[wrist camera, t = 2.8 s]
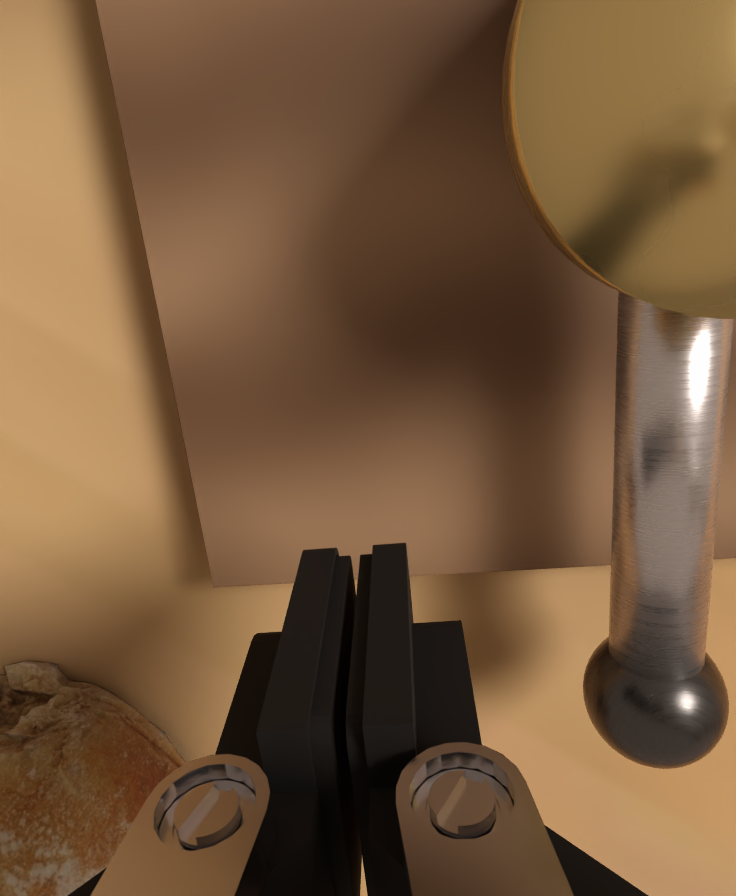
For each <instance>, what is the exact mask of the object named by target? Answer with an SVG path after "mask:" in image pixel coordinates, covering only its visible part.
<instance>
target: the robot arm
mask: <svg viewBox="0 0 736 896" xmlns="http://www.w3.org/2000/svg"><path fill="white" fill-rule="evenodd" d="M362 858H363V865H364V872H365V879H366V886H367V893H368V896H648V895H646V894H645V893H643V892H642V891H641V890H639V889H638V888H636V887H635V886H633V885H632V884H630V883H629V882H627V881H626V880H624V879H623V878H621V877H620V876H619V875H617V874H616V873H614V872H613V871H611V870H610V869H608V868H607V867H605V866H604V865H602V864H601V863H599V862H598V861H597V860H595V859H594V858H592V857H591V856H589V855H588V854H586V853H585V852H583V851H582V850H580V849H579V848H577V847H576V846H574V845H573V844H572V843H570V842H569V841H567V840H566V839H564V838H563V837H561V836H560V835H558V834H557V833H555V832H554V831H552V830H551V829H550V828H548V827H547V826H545V825H544V823H543V821H542V819H541V816H540V814H539V812H538V809H537V807H536V804H535V802H534V800H533V797H532V795H531V793H530V790H529V788H528V785H527V783H526V781H525V779H524V778H523V776H522V775H521V773H520V771H519V770H518V768H517V767H516V765H514V764H513V763H512V762H511V761H510V760H508V759H507V758H506V757H505V756H504V755H503V754H501V753H499V752H497V751H495V750H492V749H490V748H488V747H486V746H483V745H482V743H481V737H480V731H479V725H478V719H477V713H476V707H475V701H474V695H473V689H472V683H471V677H470V671H469V664H468V658H467V652H466V646H465V640H464V634H463V628H462V623H461V620H460V621H444V622H428V623H413V613H412V601H411V590H410V579H409V567H408V556H407V546H406V543H394V544H380V545H373V548H372V554H363V555H360V562H359V573H358V584H357V595H356V592H355V583H354V575H353V567H352V560H351V556H350V555H349V556H339V552H338V549H337V548H323V549H309V550H303V552H302V555H301V559H300V563H299V566H298V570H297V574H296V578H295V582H294V586H293V590H292V594H291V598H290V602H289V606H288V609H287V613H286V617H285V621H284V625H283V629H282V632H269V633H257V634H256V635H254V637H253V639H252V641H251V644H250V647H249V651H248V654H247V657H246V660H245V663H244V666H243V669H242V673H241V676H240V679H239V682H238V685H237V688H236V691H235V694H234V698H233V701H232V704H231V707H230V710H229V713H228V716H227V719H226V723H225V726H224V729H223V732H222V735H221V738H220V741H219V745H218V748H217V751H216V754H215V755H210V756H206V757H203V758H199V759H196V760H193V761H191V762H189V763H187V764H185V765H183V766H181V767H179V768H177V769H176V770H174V771H173V772H172V773H170V774H169V775H168V776H167V777H166V778H164V779H163V780H162V781H161V782H160V783H158V785H157V786H156V787H155V789H154V790H153V791H152V793H151V794H150V795H149V796H148V798H147V799H146V801H145V803H144V804H143V806H142V808H141V809H140V811H139V813H138V815H137V816H136V818H135V820H134V822H133V823H132V825H131V827H130V828H129V830H128V832H127V834H126V835H125V837H124V839H123V840H122V842H121V844H120V846H119V847H118V849H117V851H116V853H115V854H114V856H113V858H112V859H111V861H110V863H109V865H108V866H107V868H105V869H104V870H102V871H101V872H100V873H98V874H97V875H95V876H94V877H93V878H91V879H90V880H88V881H87V882H86V883H84V884H83V885H81V886H80V887H79V888H77V889H76V890H74V891H73V892H72V893H70V894H69V895H67V896H360V884H361V863H362Z"/></svg>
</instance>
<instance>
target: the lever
mask: <svg viewBox="0 0 736 896" xmlns="http://www.w3.org/2000/svg"><path fill="white" fill-rule="evenodd" d="M501 106H502V118H503V129H504V137H505V142H506V146H507V151H508V156H509V160H510V165H511V168H512V170H513V173H514V176H515V179H516V182H517V184H518V187H519V190H520V193H521V194H522V196H523V198H524V200H525V202H526V204H527V206H528V208H529V210H530V212H531V214H532V216H533V217H534V219H535V220H536V222H537V223H538V225H539V226H540V227H541V229H542V230H543V232H544V233H545V235H546V236H547V237H548V239H549V240H550V241H551V242H552V243H553V244H554V245H555V246H556V247H557V248H558V249H559V250H560V252H561V253H562V254H563V255H564V256H565V257H566V258H567V259H568V260H570V261H571V262H572V263H573V264H575V265H576V266H577V267H579V268H580V269H581V270H582V271H584V272H585V273H586V274H587V275H589V276H591V277H593V278H594V279H596V280H598V281H599V282H601V283H603V284H605V285H606V286H608V287H610V288H612V289H615V290H617V291H618V318H617V355H616V392H615V430H614V467H613V504H612V542H611V579H610V616H609V637H608V638H607V639H605V640H604V641H603V642H602V643H601V644H600V645H599V646H598V647H597V648H596V650H595V651H594V652H593V654H592V656H591V657H590V659H589V662H588V664H587V667H586V670H585V674H584V681H583V693H584V701H585V705H586V709H587V712H588V714H589V717H590V719H591V721H592V723H593V725H594V727H595V728H596V730H597V731H598V733H599V734H600V736H601V737H602V738H603V739H604V740H605V741H606V742H607V743H608V744H609V745H610V746H611V747H612V748H613V749H614V750H615V751H617V752H618V753H620V754H621V755H623V756H624V757H626V758H628V759H630V760H632V761H634V762H636V763H639V764H641V765H644V766H649V767H654V768H661V769H670V768H678V767H683V766H686V765H689V764H692V763H694V762H696V761H698V760H700V759H702V758H703V757H705V756H706V755H707V754H708V753H709V752H711V750H712V749H713V748H714V747H715V746H716V744H717V743H718V742H719V740H720V739H721V737H722V735H723V733H724V730H725V727H726V724H727V720H728V713H729V701H728V694H727V689H726V686H725V683H724V680H723V677H722V675H721V673H720V672H719V670H718V668H717V666H716V664H715V663H714V662H713V660H712V659H711V658H710V657H709V655H708V654H707V653H706V652H705V650H706V639H707V627H708V615H709V603H710V591H711V579H712V568H713V556H714V544H715V532H716V520H717V509H718V497H719V485H720V473H721V461H722V449H723V438H724V426H725V414H726V402H727V390H728V379H729V367H730V355H731V343H732V331H733V319H736V0H518V1H517V3H516V7H515V10H514V14H513V18H512V22H511V25H510V29H509V33H508V37H507V43H506V50H505V56H504V63H503V70H502V97H501Z"/></svg>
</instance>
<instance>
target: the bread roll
mask: <svg viewBox="0 0 736 896" xmlns="http://www.w3.org/2000/svg"><path fill="white" fill-rule="evenodd" d="M4 668H5V671H6V674H5V675H1V676H0V896H67V895H69V894H70V893H72V892H73V891H74V890H76V889H77V888H79V887H80V886H81V885H83V884H84V883H86V882H87V881H88V880H90V879H91V878H93V877H94V876H95V875H97V874H98V873H100V872H101V871H102V870H104V869H105V868H107V866H108V865H109V863H110V861H111V859H112V858H113V856H114V854H115V853H116V851H117V849H118V847H119V846H120V844H121V842H122V840H123V839H124V837H125V835H126V834H127V832H128V830H129V828H130V827H131V825H132V823H133V822H134V820H135V818H136V816H137V815H138V813H139V811H140V809H141V808H142V806H143V804H144V803H145V801H146V799H147V798H148V796H149V795H150V794H151V793H152V791H153V790H154V789H155V787H156V786H157V785H158V783H160V782H161V781H162V780H163V779H164V778H166V777H167V776H168V775H169V774H170V773H172V772H173V771H174V770H176V769H177V768H179V767H181V766H183V765H185V764H187V762H186V761H183V760H182V759H181V758H180V756H179V755H178V752H177V750H176V749H175V748H174V747H173V745H172V744H171V742H170V741H169V739H168V737H167V735H166V734H165V732H163V731H161V730H159V729H158V728H156V727H155V726H154V725H152V724H151V723H149V722H148V721H147V720H146V719H145V718H144V717H143V716H142V715H141V714H140V713H138V712H137V711H136V710H135V709H134V708H133V707H131V706H130V705H129V704H127V703H126V702H125V701H123V700H122V699H121V698H119V697H118V696H116V695H114V694H113V693H111V692H109V691H107V690H104V689H102V688H100V687H98V686H96V685H94V684H90V683H83V682H77V681H73V680H69V679H68V678H67V677H66V676H65V675H64V674H63V673H61V672H60V671H59V667H58V665H57V664H51V663H46V662H35V661H25V662H20V663H16V664H12V665H7V666H4Z"/></svg>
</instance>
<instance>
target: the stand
mask: <svg viewBox="0 0 736 896" xmlns="http://www.w3.org/2000/svg"><path fill="white" fill-rule="evenodd" d="M95 1H96V6H97V11H98V16H99V21H100V26H101V31H102V36H103V41H104V46H105V51H106V56H107V61H108V66H109V71H110V75H111V80H112V85H113V90H114V95H115V100H116V105H117V110H118V115H119V120H120V125H121V130H122V135H123V140H124V145H125V150H126V155H127V160H128V165H129V170H130V175H131V180H132V185H133V190H134V195H135V200H136V205H137V210H138V215H139V220H140V225H141V230H142V235H143V239H144V244H145V249H146V254H147V259H148V264H149V269H150V274H151V279H152V284H153V289H154V294H155V299H156V304H157V309H158V314H159V319H160V324H161V329H162V334H163V339H164V344H165V349H166V354H167V359H168V364H169V369H170V374H171V379H172V384H173V389H174V394H175V398H176V403H177V408H178V413H179V418H180V423H181V428H182V433H183V438H184V443H185V448H186V453H187V458H188V463H189V468H190V473H191V478H192V483H193V488H194V493H195V498H196V503H197V508H198V513H199V518H200V523H201V528H202V533H203V538H204V543H205V548H206V553H207V558H208V562H209V567H210V572H211V577H212V582H213V587H229V586H247V585H264V584H282V583H294V582H295V578H296V574H297V570H298V566H299V563H300V559H301V555H302V552H303V550H309V549H323V548H337V549H338V552H339V556H349V555H350V556H351V560H352V567H353V575H354V579H358V573H359V562H360V555H363V554H372V548H373V545H380V544H394V543H406V546H407V556H408V567H409V576H424V575H442V574H460V573H477V572H495V571H513V570H531V569H549V568H566V567H584V566H602V565H611V542H612V504H613V467H614V430H615V392H616V355H617V318H618V291H617V290H615V289H612V288H610V287H608V286H606V285H605V284H603V283H601V282H599V281H598V280H596V279H594V278H593V277H591V276H589V275H587V274H586V273H585V272H584V271H582V270H581V269H580V268H579V267H577V266H576V265H575V264H573V263H572V262H571V261H570V260H568V259H567V258H566V257H565V256H564V255H563V254H562V253H561V252H560V250H559V249H558V248H557V247H556V246H555V245H554V244H553V243H552V242H551V241H550V240H549V239H548V237H547V236H546V235H545V233H544V232H543V230H542V229H541V227H540V226H539V225H538V223H537V222H536V220H535V219H534V217H533V216H532V214H531V212H530V210H529V208H528V206H527V204H526V202H525V200H524V198H523V196H522V194H521V193H520V190H519V187H518V184H517V182H516V179H515V176H514V173H513V170H512V168H511V165H510V160H509V156H508V151H507V146H506V142H505V137H504V129H503V118H502V106H501V97H502V70H503V63H504V56H505V50H506V43H507V37H508V33H509V29H510V25H511V22H512V18H513V14H514V10H515V7H516V3H517V1H518V0H95ZM726 558H736V319H733V331H732V343H731V355H730V367H729V379H728V390H727V402H726V414H725V426H724V438H723V449H722V461H721V473H720V485H719V497H718V509H717V520H716V532H715V544H714V556H713V559H726Z"/></svg>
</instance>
